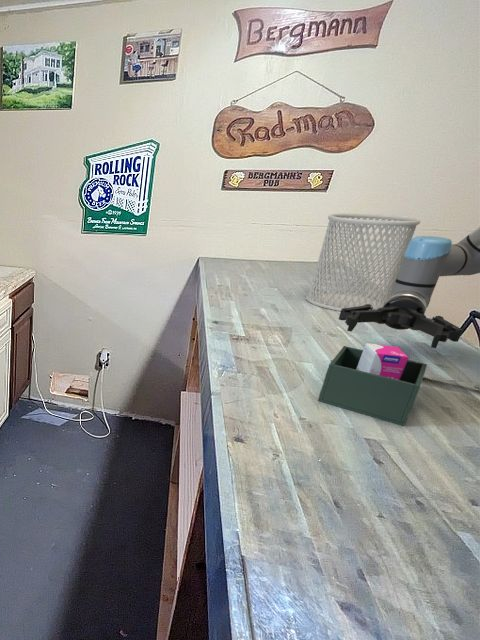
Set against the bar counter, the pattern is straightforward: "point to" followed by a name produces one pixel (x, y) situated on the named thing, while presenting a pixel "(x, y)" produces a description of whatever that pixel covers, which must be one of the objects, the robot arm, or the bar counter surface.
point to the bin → (371, 388)
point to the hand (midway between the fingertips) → (391, 333)
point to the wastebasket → (349, 300)
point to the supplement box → (383, 360)
